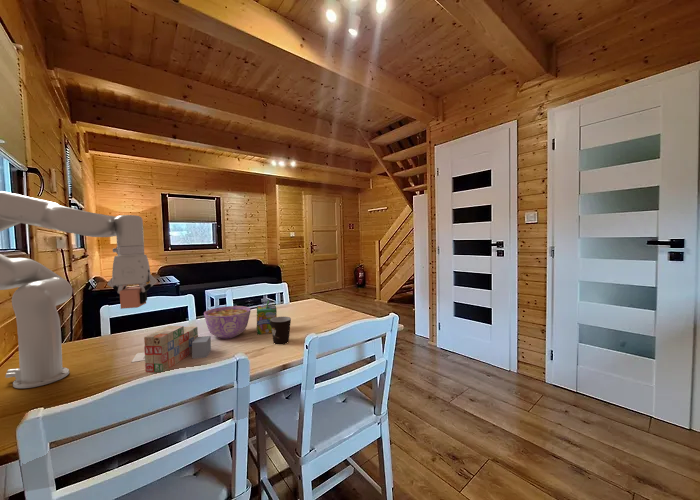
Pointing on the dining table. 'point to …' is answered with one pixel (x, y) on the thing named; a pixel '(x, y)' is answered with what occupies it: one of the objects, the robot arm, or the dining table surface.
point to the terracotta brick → (130, 298)
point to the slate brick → (201, 347)
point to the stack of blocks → (168, 347)
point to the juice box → (265, 318)
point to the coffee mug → (280, 329)
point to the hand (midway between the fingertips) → (133, 303)
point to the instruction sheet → (139, 357)
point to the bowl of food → (227, 320)
